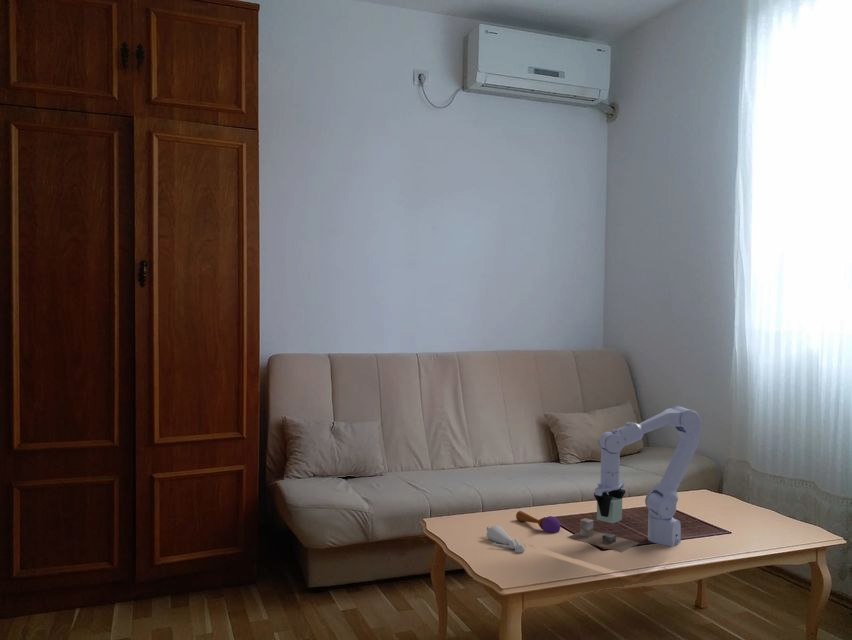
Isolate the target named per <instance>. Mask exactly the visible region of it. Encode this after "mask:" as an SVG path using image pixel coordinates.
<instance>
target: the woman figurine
mask: <svg viewBox="0 0 852 640" xmlns="http://www.w3.org/2000/svg"><path fill="white" fill-rule="evenodd" d="M486 538H487V539H488V540H490V541H493V542H491V545H492V546H498V547H504V548H508V549H511V550H514V552H515V553H517V554H522V553H525V550H526V549H525V547H524V545H523V544H521V543H522V539H523V537H521V536H520V537H519V541H517V539H512V537H511V536H510V535H509V534H508V533H507V532H506V531H505V529H504V528H503V527H502V526H500V525H498V524H497V525H492V526H490V527H489V526H486Z"/></svg>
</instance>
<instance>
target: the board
mask: <svg viewBox="0 0 852 640" xmlns="http://www.w3.org/2000/svg"><path fill="white" fill-rule="evenodd" d="M579 528H580V529H579V532H576V533H573V534H571V535H569V536H567V538H568V539H572V540H575V541H578V542H582V543H586V544H589V545H593V546H596V547H600V548H604V549H607V550H610V551H614V552H617V553H623V552H625V551H627V550H630V549H631V548H633V547H635V546H637V545H639V544H641V542H638V541H635V540H630V539H627V538H623V537H620V536H619V537H618V536H617V535H615V534H612V533H608V532H606V533H604V532H601V531H596V530H594V519H590V518H586V517H585V518H581V519H580V526H579Z"/></svg>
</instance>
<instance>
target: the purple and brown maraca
mask: <svg viewBox="0 0 852 640" xmlns="http://www.w3.org/2000/svg"><path fill="white" fill-rule="evenodd" d="M515 518H516V520H517V521H520V522H526V523H533V524H537V525H538V526H539V527H540V529H541V530H542V531H544V533H545V532H546V533H549V534H557V533H559V532H560V531H561V527H562V526H561V522H560V520H559V519H558V518H557V517H555V516H552V515H550V516H549V515H548V516H546V517H541V518H540V519H538V518H536V517H533V516H531V515H530V514H528V513H526V512H524V511H522V510H519V511H517V512H516V514H515Z"/></svg>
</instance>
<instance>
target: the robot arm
mask: <svg viewBox="0 0 852 640" xmlns="http://www.w3.org/2000/svg"><path fill="white" fill-rule="evenodd" d="M702 424H703V420H702V418H701V417H700V414H699V413H698V412H697V411H696V410H694V409H688V408H685V407H683V406H681V405H675V406H673V407H670V408H666V409H665V410H664V411H662V412H660V413H658V414H655V415H653V416H652V417H649V418H648V419H645V420H644V421H641V422H640V423H636V422H634V421H632V422H631V421H628V422H625V425H623V426H621V427H618V428H613V429H612V431H605V432H603V433H602V434H601V435H600V436H599V439H598V440H597V442H598V443H597V444H598V446H599V447H600V448H601V450H600V482H597V487H596V488H595V489H594V492H593V497H594V498H595V500H596V503H597V502H598V505H599V509H600V513H601V516H604V517H608V514H609V506H610V502H611V499H612V497H615V498H620V499H622V500H623V498H624V496H625V494H626V490H625V489H624V488H625V481H623V480H620V475H621V474H620V472H621V471H620V463H621V457H620V455H621V454H620V453H621V451H622V450H623V449H624V447H626V446H628V445H631V444H633V443H637V441H640V440H642V439H643V436H644V434H646V433H649V432H652V431H656V430H657V429H659V428H663V427H666V426H671V427H674V428H675V429H676V430H677V432H678V435H679V437H680V440H679V441H678V444H677V446H676V448H675V451H674V453H673V454H672V456H671V458H670V462H669V463H668V465H667V467H666V469H665V471H664V473H663V476H662V478H661V479H660V482H659V483H657V484H656V485H654V486H653V488H652V489H651V490H650V492H649V493H647V495H646V496H645V500H644V502H645V503H644V504H645V506H646V508H647V510H648V513H647V515H648V518H647V519H648V520H647V521H648V522H647V523H648V524H647V540H648V541H649V542H651V543H654V544H659V545H663V546H668V547H672V548H673V547H675V546H677V545H679V544H680V543H681V540H682V537H681V535H682V534H681V533H682V525H681V521H680V520H679V519H675V518H674V517H673V516H674V515H675V513H676V511H677V504H678V500H679V496H678V489H679V487H680V485H681V482H682V480H683V478H684V476H685V474H686V472H687V470H688V467H689V466H690V464H691V462H692V459H693V457H694V456H695V453H696V451H697V449H698V447H699V444H700V442H701V426H702Z"/></svg>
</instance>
